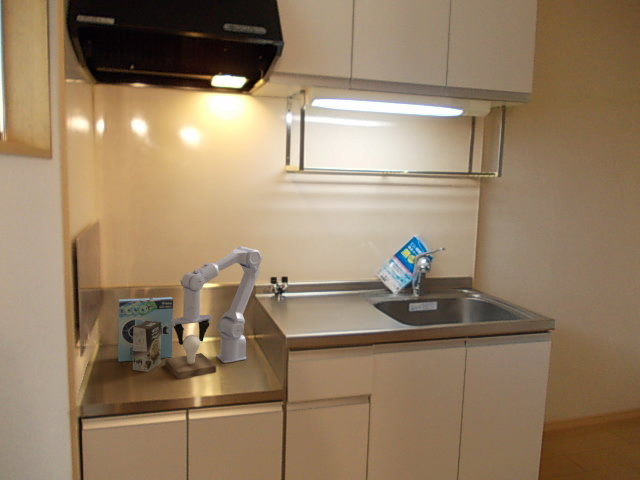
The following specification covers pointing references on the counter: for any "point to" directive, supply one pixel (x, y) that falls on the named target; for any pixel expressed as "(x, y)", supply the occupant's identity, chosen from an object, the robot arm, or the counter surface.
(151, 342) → the coffee box
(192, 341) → the lightbulb
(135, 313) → the light blue product box
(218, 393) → the counter surface
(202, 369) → the walnut base
